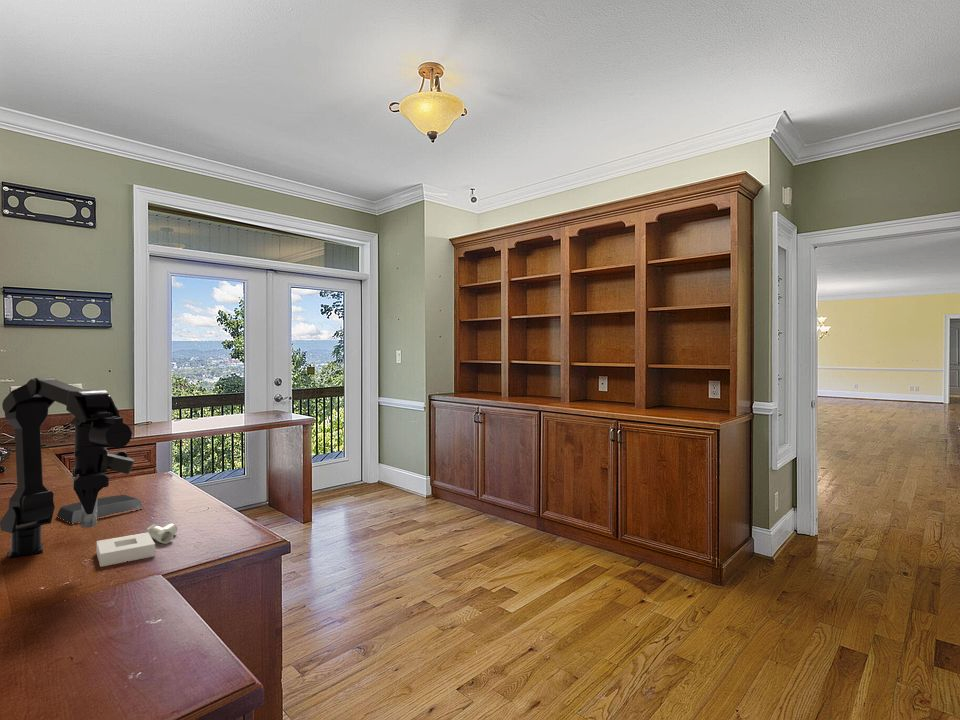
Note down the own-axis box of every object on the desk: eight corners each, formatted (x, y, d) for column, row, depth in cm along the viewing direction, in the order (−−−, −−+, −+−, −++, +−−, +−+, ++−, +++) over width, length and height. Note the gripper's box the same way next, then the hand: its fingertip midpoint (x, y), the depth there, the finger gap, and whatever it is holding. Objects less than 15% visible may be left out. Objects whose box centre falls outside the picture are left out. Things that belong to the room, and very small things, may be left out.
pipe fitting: (171, 534, 148) (145, 539, 142) (173, 520, 148) (146, 524, 143) (185, 540, 143) (159, 545, 138) (187, 526, 144) (160, 530, 138)
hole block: (96, 553, 132) (96, 541, 132) (148, 543, 139) (148, 532, 139) (100, 566, 123) (100, 554, 123) (155, 556, 130) (155, 543, 130)
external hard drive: (144, 511, 170) (144, 498, 170) (72, 526, 153) (72, 512, 153) (126, 504, 177) (126, 492, 177) (55, 518, 161) (55, 505, 161)
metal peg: (80, 525, 123) (81, 481, 123) (96, 522, 125) (97, 480, 125) (81, 528, 120) (81, 484, 120) (97, 526, 122) (97, 482, 122)
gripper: (135, 447, 120) (135, 516, 120) (128, 437, 135) (127, 498, 135) (74, 452, 113) (73, 525, 113) (72, 440, 128) (72, 505, 128)
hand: (89, 512), depth 123 cm, fingers closed on metal peg, 3 cm apart
